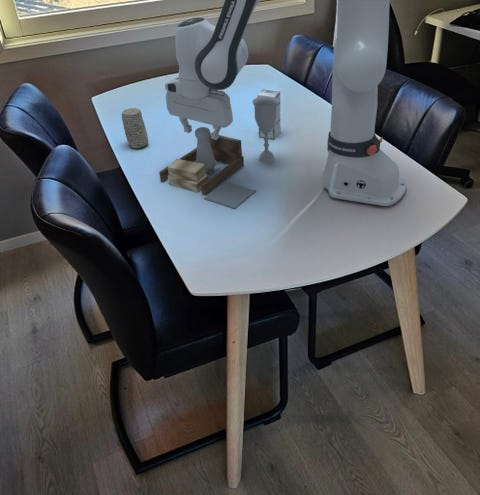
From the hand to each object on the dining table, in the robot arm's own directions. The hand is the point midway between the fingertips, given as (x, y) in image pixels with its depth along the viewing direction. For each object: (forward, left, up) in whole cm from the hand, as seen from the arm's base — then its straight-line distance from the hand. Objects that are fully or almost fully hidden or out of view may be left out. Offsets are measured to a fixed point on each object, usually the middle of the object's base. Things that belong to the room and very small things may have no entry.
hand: (201, 135), depth 135 cm
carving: (+30, -3, -11) cm, 32 cm away
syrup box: (-4, -29, -11) cm, 32 cm away
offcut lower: (0, +8, -12) cm, 14 cm away
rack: (0, +3, -11) cm, 11 cm away
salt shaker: (0, 0, -11) cm, 11 cm away
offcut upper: (0, +8, -9) cm, 12 cm away
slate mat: (-14, +8, -11) cm, 20 cm away
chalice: (-12, -14, -11) cm, 22 cm away
